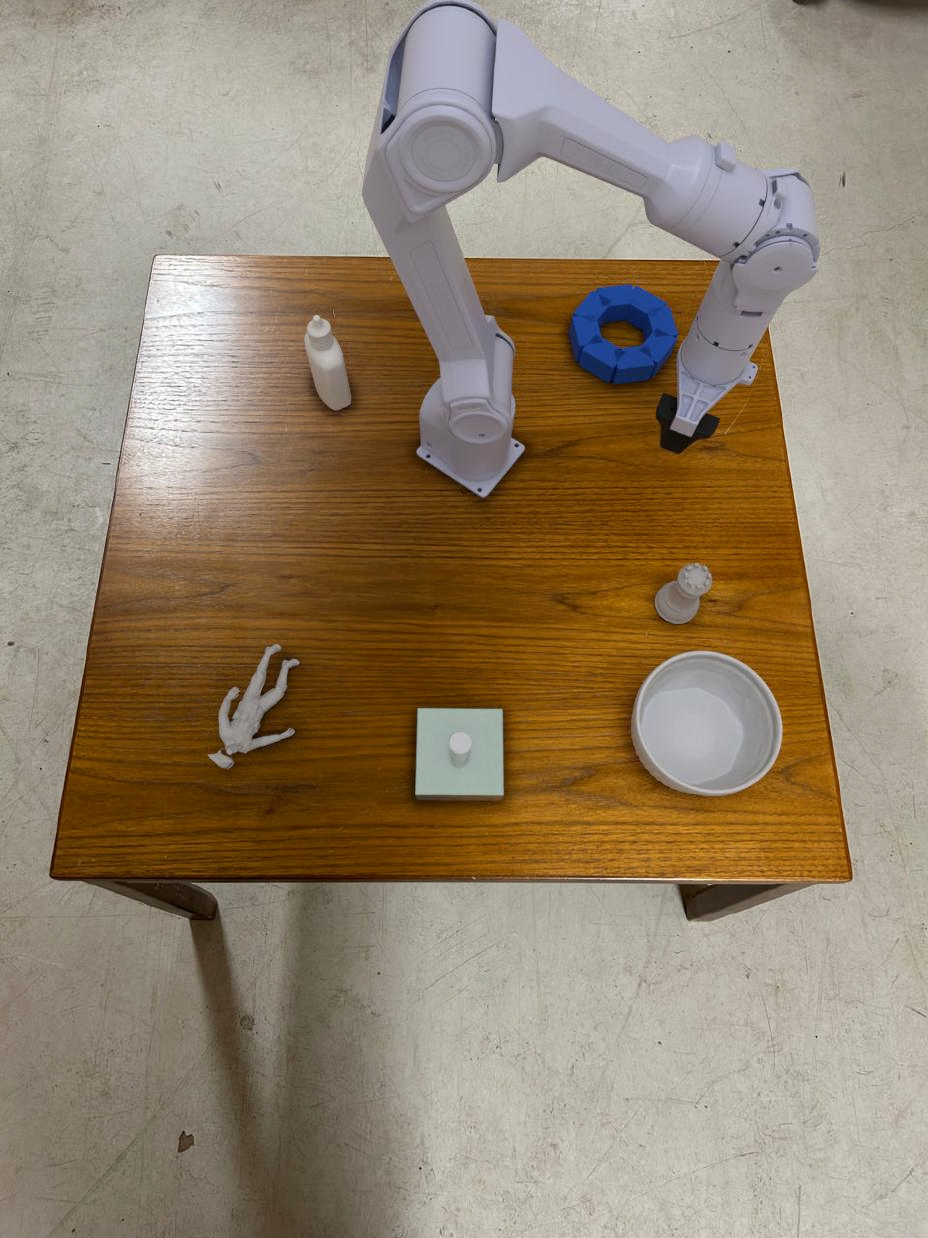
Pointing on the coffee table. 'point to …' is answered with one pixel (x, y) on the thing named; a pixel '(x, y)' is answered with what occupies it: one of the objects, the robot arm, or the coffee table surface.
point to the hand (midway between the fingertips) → (683, 417)
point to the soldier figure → (251, 712)
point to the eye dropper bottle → (327, 364)
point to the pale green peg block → (459, 754)
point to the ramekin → (706, 724)
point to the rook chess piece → (683, 594)
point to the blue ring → (638, 312)
